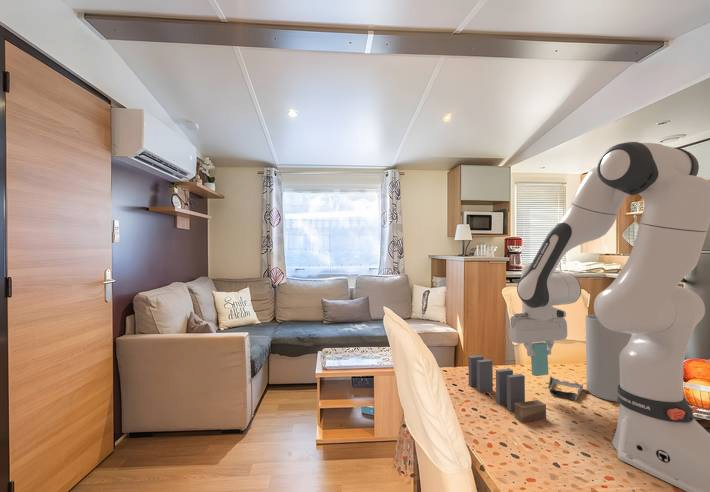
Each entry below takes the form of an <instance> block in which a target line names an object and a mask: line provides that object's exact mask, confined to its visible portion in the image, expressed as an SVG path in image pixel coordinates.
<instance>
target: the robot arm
mask: <svg viewBox="0 0 710 492" xmlns="http://www.w3.org/2000/svg"><path fill="white" fill-rule="evenodd" d="M699 169H700V166H699V161H698V159H697V158H696V156H695V155H694V154H693V153H691V152H689V151H688V150H686V149H683V148H682V147H681V148H680V147H676V146H674V147H672V146H668V145H664V144H661V143H655V142H653V143H652V142H638V141H628V142H621V143H618V144H615V145H613V146H611V147H609V148H608V149H607V150H605V151H604V152H603V154H602V155H601V156H600V158H599V160H598V163H597V166H596V167H593V168H592V169H590V170H588V172H587V173H586V175H585V176H584V178H583V179H582V181H581V182H580V184H579V185H578V187H577V190H576V192H575V193H574V196H573V198H572V201H571V202H570V204H569V207H568V209H567V210H566V212H565V213H564V215H563V217H562V218H561V220H560V221H558V222H557V223H556V224H555V225H554V226H553V227H552V228H551V229H550V231H549V232H548V234H547V235H546V237H545V239H544V240H543V242H542V244H541V246H540V247H539V249H538V251H537V253H536V255H535V257H534V258H533V260H532V262H531V263H530V262H529V263H527V264H524V266H522V269H521V275H520V279H519V280H518V283H517V286H516V292H517V294H518V297H519V299H520V300H521V310H522V311H521V312H520V313H513V315H512V316H511V317H510V319H509V320H510V321H509V322H510V323H509V331H508V333H509V334H508V336H509V337H508V338H509V340H510V342H512V343H514V344H523V347H524V348H525V349H526V354H527V356H528V357H530V358H531V356H535V351H534V350H532V348H531V346H532V343H540V342H544V343H547V354H548V356H549V355H552V349H553V346H554V343H555V341H561V340H567V337H568V323H567V320H566V317H567V312H566V311H565V310H562V309H561V308H560V309H559V308H556V307H554V306H561V305H562V306H564V305H570V304H574V303H577V301H578V300H580V297H581V294H582V286H581V283H580V281H579V280H578V278H577V277H576V276H574V275H573V274H571V273H566V272H563V271H560V270H558V269H557V267H558V266H559V264H560V262H561V261H562V259H563V257H564V256H565V255H566V254H567V253H568V252H569V251H571V250H572V249H574V248H576V247H577V246H581V245H583V244H585V243H589V242H591V241H595V240H598V239H600V238H601V237H604V236H605V235H606V234H607V233H608V232H609V231H610V229H612V227H613V225H614V223H615V222H616V220H617V218H618V215H619V214H620V211H621V209H622V207H623V204H624V202H625V201H626V199H627V198H628V197H629V196H635V195H639V196H640V197H641V198H642V199H643V205H644V206H643V211H642V214H641V218H640V220H639V221H640V222H639V224H638V229H637V232H636V236H635V239H634V243H633V245H632V249H631V252H630V254H629V257H628V258H627V260H626V262H625V264H624V265H623V267H622V268H621V270H620V271H619V273H618V275H617V276H616V277H615V278H614V280H613V281H612V282H611V283H610V284H609V286H607V287H606V288H605V289H603V290H602V291H601V292H600V293H598V294H597V295H596V297H595V299H594V301H593V312H594V315H596V317H597V319H598V321H599V322H600V323H601V324H602V325H603V326H604V327H606V328H608V329H610V330H612V331H617V332H622V333H628V334H632V335H631V338H630V340H629V342H628V344H627V345H626V346H625V347H624V348H623V349H622V351H621V353H620V356H619V370H620V384H619V385H618V402H617V403H618V405H619V408H618V409H619V411H618V418H617V425H616V429H615V433H614V436H613V439H612V442H611V443H612V446H613V447H614V449H615V450H616V452H617V459H619V460H620V461H621V462H625V463H626V464H629V465H631V466H632V467H634V468H637V469H639V470H641V471H643V472H645V473H648V474H649V475H651V476H652V477H656V479H657V478H658V479H660V480H662V481H664V482H666V483H668V484H670V485H672V486H675V487H677V488H679V489H680V490H683V491H685V492H710V432H708V431H707V429H705V428H704V427H703V426H702V425H701V424H700V423H699V422H698V421H697V420H696V419H695V415H694V414H695V413H699V412H700V411H699V410H698V409H700V408H699V406H694V407H693V406H692V407H691V406H690V405H689V403H688V401H687V400H686V398H685V397H684V365H685V364H684V363H685V358H686V354H687V350H688V347H689V343H690V341H691V338H692V334H693V333H694V330H695V328H696V326H697V325H698V324H699V323H700V322H701V321H702V320H703V318H704V317H705V314H706V307H705V303H704V300H703V299H702V298H701V296H700V295H699V294H698V293H696V292H695V291H694V290H692V289H690V288H687V287H683V286H680V285H679V284H680V282H681V281H682V280H683V279H684V278H685V277H686V276H687V275H688V274H690V273H691V272H692V271H693V270H694V269H696V267H697V264H698V263H699V259H700V257H701V253H702V249H703V246H704V243H705V241H706V237H707V234H708V230H709V228H710V181H709V180H707V179H705V178H703V177H701V176H697V175H698V173H699Z"/></svg>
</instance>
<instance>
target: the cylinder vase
mask: <svg viewBox="0 0 710 492" xmlns="http://www.w3.org/2000/svg"><path fill="white" fill-rule="evenodd" d="M631 335H632V334H628V333H622V332H617V331H612V330H610V329H608V328H606V327H604V326H603V325H602V324H601V323H600V322H599V321H598V319H597V317H596V315H595V314H586V315H585V359H586V361H585V362H586V363H585V364H586V365H585V366H586V368H585V369H586V390H587V392H589V394H591V395H593V396H594V397H597V398H599V399H602V400H606V401H610V402H615V403H619V402H618V385H619V384H620V370H619V356H620V353H621V351H622V349H623V348H624V347H625V346H626V345H627V344H628V342H629V340H630V338H631Z"/></svg>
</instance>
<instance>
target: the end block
mask: <svg viewBox="0 0 710 492" xmlns="http://www.w3.org/2000/svg"><path fill="white" fill-rule="evenodd" d="M513 412H514V418H515V420H517V421H519V422H521V423H523V424H524V423H530V422H535V421H542V420H546V419H547V404H545V402H542V401H541V400H539V399H534V400H528V401H527V400H526V401H525V402H520V403H514V411H513Z"/></svg>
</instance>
